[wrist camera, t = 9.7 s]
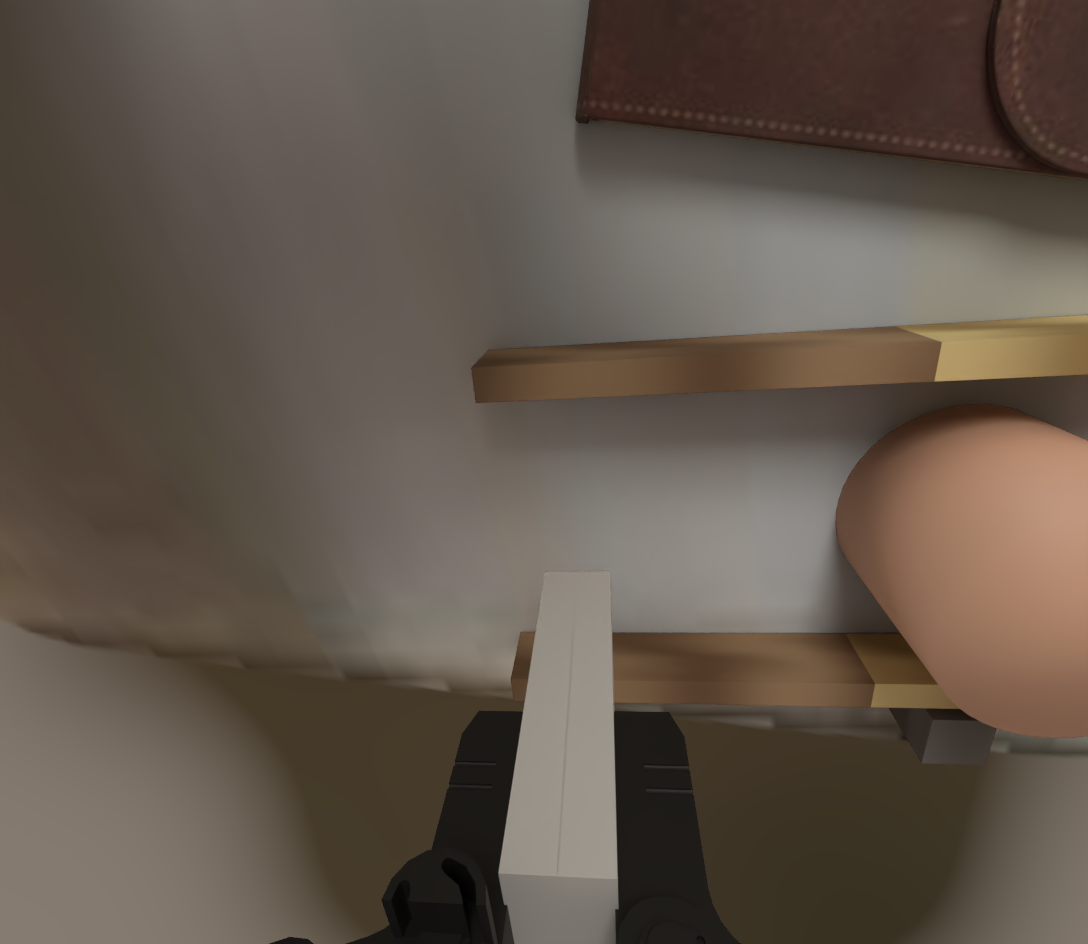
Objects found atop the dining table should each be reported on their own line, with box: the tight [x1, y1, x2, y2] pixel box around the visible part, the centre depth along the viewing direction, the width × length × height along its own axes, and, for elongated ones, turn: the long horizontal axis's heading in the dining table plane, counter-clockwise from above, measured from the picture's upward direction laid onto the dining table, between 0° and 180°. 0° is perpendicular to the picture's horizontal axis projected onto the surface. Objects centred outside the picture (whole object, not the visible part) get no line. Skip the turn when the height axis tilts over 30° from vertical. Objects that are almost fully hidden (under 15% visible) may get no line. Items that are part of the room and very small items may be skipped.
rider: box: [836, 404, 1088, 738], centre depth 16 cm, size 7×7×6 cm
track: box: [471, 315, 1088, 765], centre depth 18 cm, size 31×14×2 cm, turn 94°
